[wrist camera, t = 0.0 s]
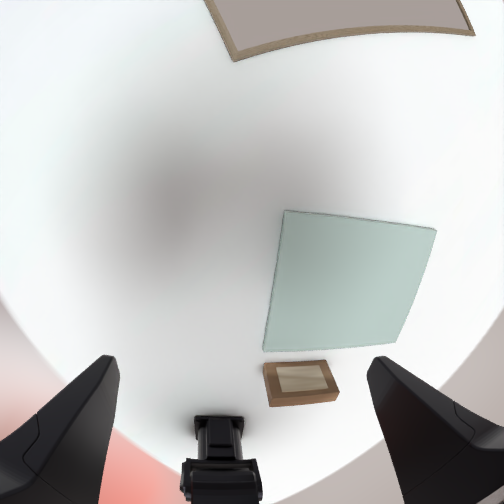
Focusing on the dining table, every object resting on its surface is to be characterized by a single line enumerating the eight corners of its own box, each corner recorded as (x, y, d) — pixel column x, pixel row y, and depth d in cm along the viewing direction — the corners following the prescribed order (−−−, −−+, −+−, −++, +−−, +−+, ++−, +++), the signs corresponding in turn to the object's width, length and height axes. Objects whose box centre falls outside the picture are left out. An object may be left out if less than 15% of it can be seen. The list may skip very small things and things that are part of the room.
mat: (393, 339, 29) (395, 342, 29) (262, 348, 27) (263, 351, 27) (433, 228, 24) (437, 230, 23) (284, 210, 22) (286, 212, 21)
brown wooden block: (322, 368, 30) (335, 400, 25) (262, 371, 29) (269, 407, 24) (325, 358, 29) (340, 391, 25) (264, 361, 28) (272, 397, 24)
